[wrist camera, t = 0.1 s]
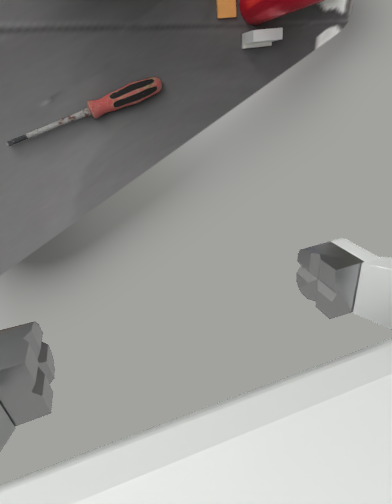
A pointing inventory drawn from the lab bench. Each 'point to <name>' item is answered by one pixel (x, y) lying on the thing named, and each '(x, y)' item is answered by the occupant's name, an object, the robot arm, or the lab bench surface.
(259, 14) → the bottle
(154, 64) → the lab bench surface
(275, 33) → the assorted small pieces
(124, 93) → the screwdriver
